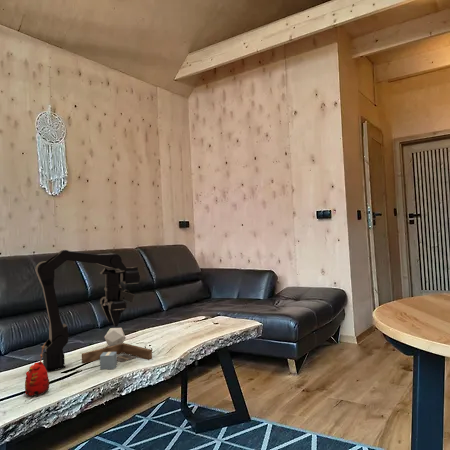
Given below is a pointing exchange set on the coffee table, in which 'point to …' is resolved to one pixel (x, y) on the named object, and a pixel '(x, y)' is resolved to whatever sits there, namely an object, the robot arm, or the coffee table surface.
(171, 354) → the coffee table surface
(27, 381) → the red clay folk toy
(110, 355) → the cube
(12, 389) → the coffee table surface
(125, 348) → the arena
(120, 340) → the die
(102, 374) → the coffee table surface
